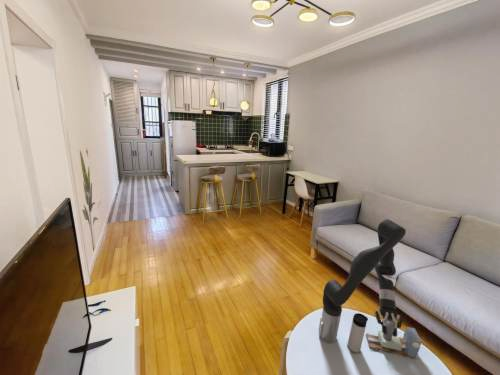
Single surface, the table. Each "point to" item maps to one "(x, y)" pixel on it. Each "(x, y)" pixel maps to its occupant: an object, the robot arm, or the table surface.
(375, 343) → the track
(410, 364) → the table surface
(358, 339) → the travel mug
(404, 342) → the button
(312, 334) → the table surface
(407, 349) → the end cabinet
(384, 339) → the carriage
